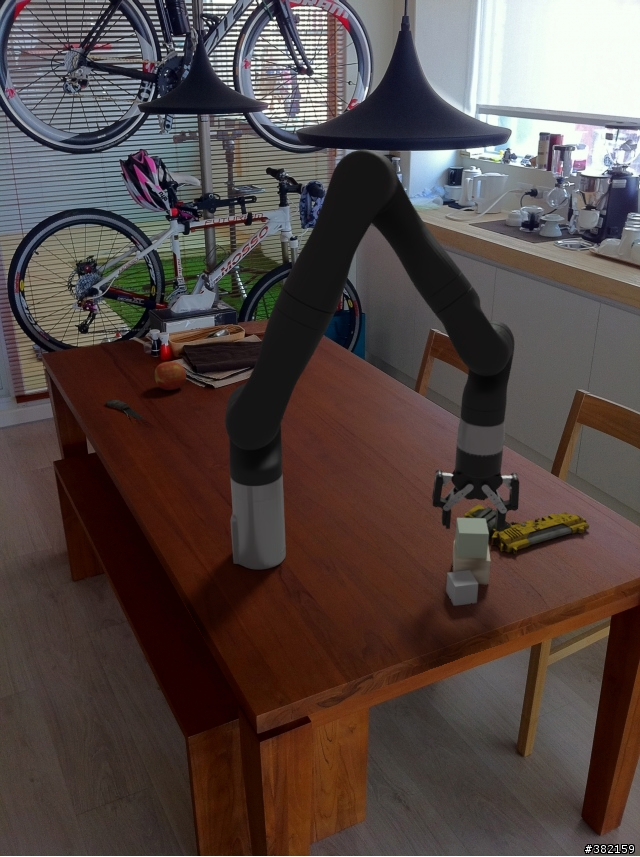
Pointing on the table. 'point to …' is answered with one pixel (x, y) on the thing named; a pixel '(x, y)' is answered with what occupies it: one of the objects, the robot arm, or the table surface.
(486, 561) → the maple block
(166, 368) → the apple
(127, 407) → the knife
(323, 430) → the table surface
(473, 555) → the green cube
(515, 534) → the toy gun
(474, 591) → the grey block
